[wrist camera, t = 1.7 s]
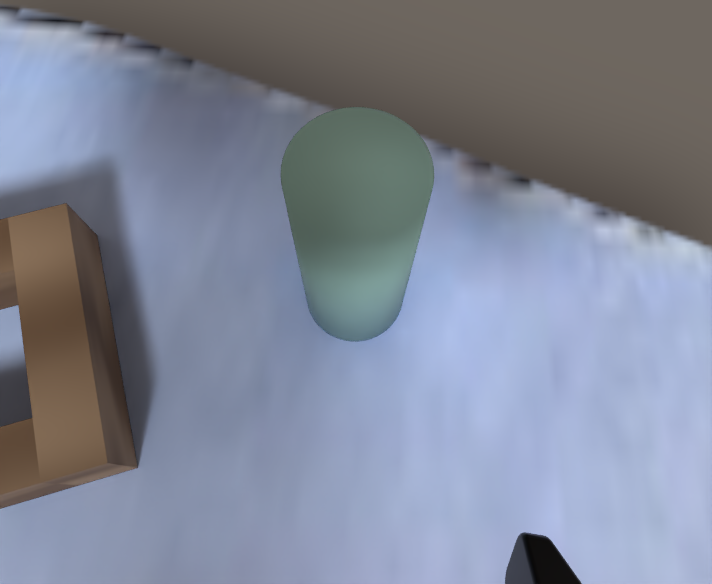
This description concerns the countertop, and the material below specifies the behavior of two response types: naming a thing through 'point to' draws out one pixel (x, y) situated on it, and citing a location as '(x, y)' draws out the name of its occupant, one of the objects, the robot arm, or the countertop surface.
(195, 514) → the countertop surface
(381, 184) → the dowel
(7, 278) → the socket block
